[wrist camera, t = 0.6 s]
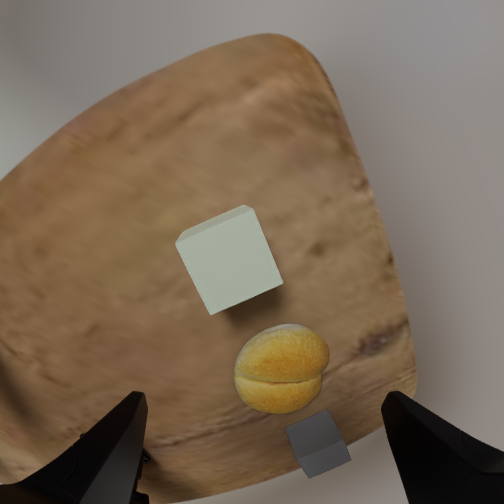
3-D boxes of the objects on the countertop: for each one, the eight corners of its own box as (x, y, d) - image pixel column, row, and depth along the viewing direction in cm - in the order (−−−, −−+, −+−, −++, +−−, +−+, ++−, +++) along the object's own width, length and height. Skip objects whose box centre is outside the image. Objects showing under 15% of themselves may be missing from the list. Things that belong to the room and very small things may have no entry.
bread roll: (330, 320, 25) (349, 341, 21) (308, 397, 27) (321, 422, 23) (239, 316, 24) (245, 339, 20) (228, 397, 26) (231, 426, 22)
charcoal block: (297, 448, 29) (308, 478, 24) (284, 427, 27) (296, 459, 22) (336, 431, 29) (351, 460, 24) (327, 408, 28) (343, 439, 23)
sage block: (210, 288, 23) (210, 315, 18) (182, 231, 22) (174, 243, 17) (268, 263, 23) (283, 283, 18) (243, 204, 22) (253, 209, 17)
